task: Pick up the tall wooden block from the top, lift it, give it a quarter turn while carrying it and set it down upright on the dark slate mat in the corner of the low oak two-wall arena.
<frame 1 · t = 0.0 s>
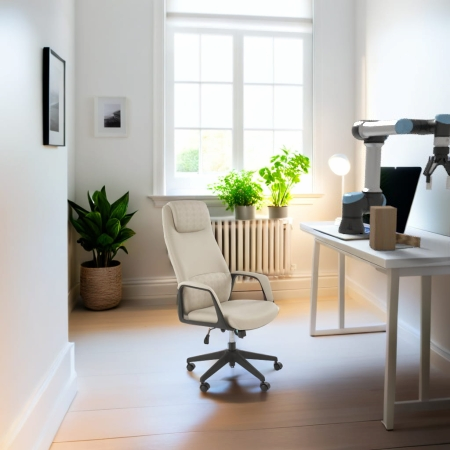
hand: (438, 189, 249), 28 cm above the table, tool pointing down, fingers open, 13 cm apart
wooden block: (382, 248, 241), on the table, touching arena
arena: (397, 246, 246), on the table
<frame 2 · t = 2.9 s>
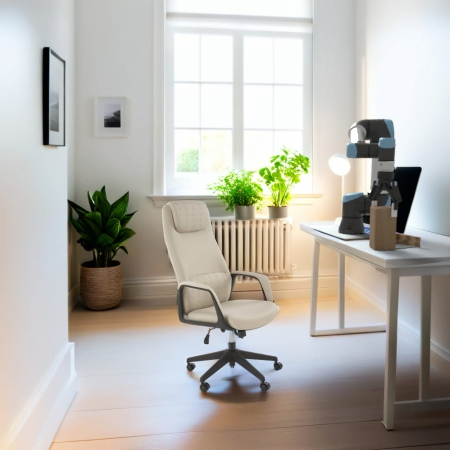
hand: (383, 215, 238), 16 cm above the table, tool pointing down, fingers open, 13 cm apart
nothing on the table moved.
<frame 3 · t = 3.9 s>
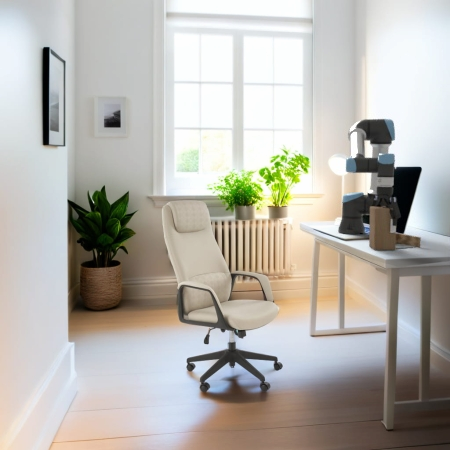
hand: (382, 230, 240), 9 cm above the table, tool pointing down, fingers closed on wooden block, 13 cm apart
wooden block: (382, 248, 241), on the table, touching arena, gripper
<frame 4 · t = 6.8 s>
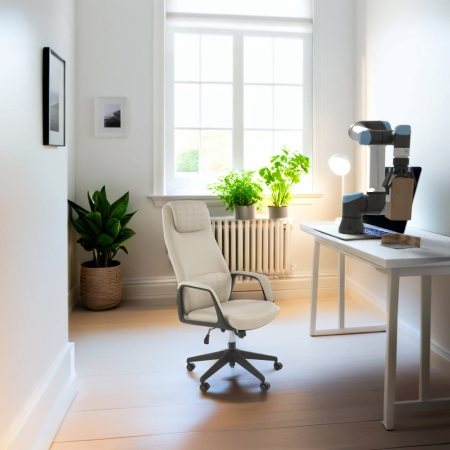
hand: (398, 201, 244), 22 cm above the table, tool pointing down, fingers closed on wooden block, 13 cm apart
wooden block: (397, 219, 245), point 14 cm above the table, touching gripper
when the fingers open (10 cm above the table, at t = 9.9 s): wooden block drops 1 cm, resting on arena.
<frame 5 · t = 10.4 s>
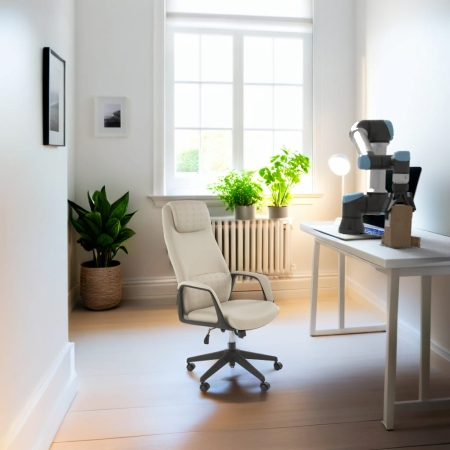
hand: (398, 225, 246), 10 cm above the table, tool pointing down, fingers open, 13 cm apart
wooden block: (396, 246, 247), resting on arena
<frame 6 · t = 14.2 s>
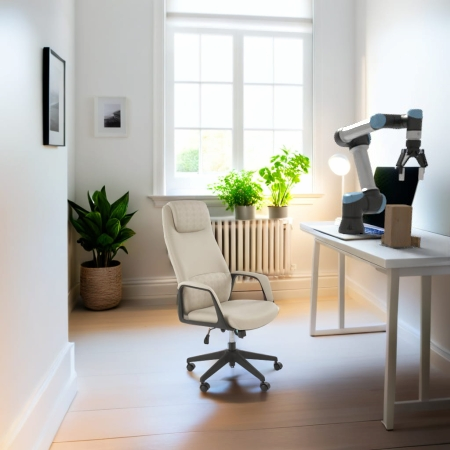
hand: (411, 180, 263), 32 cm above the table, tool pointing down, fingers open, 13 cm apart
nothing on the table moved.
at the end: wooden block 0.2 cm from the target spot, resting on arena; wooden block tilted 0°; the gripper is holding nothing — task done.
